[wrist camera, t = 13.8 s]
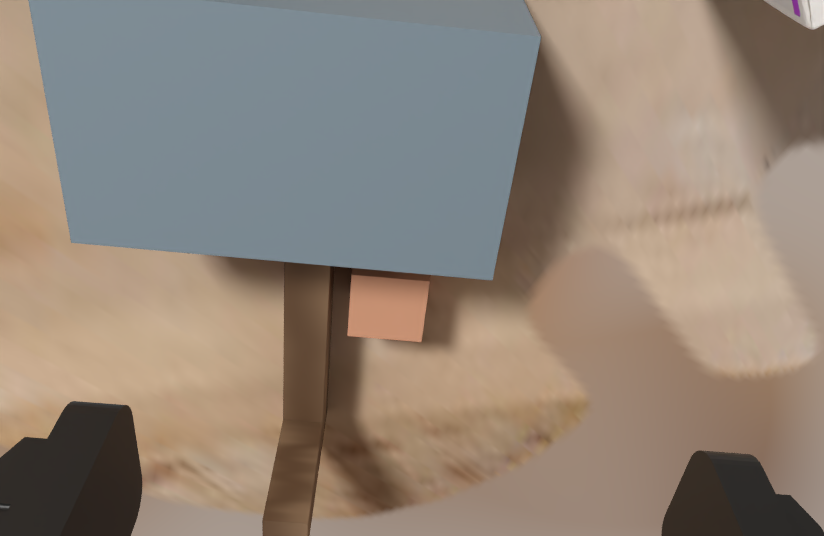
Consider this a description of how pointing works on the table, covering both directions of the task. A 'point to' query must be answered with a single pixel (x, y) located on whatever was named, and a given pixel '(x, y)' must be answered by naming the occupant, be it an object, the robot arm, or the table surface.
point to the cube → (387, 304)
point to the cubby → (290, 126)
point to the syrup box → (802, 11)
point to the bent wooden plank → (301, 398)
